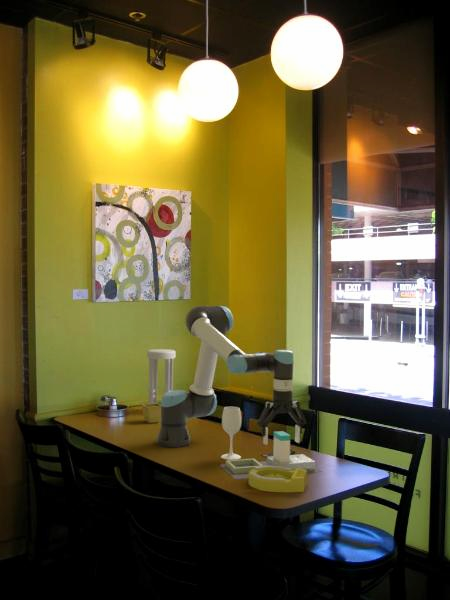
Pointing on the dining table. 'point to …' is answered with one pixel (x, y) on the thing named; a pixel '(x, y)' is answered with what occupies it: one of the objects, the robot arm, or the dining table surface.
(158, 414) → the flower pot
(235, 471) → the grey square tray
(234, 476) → the mat
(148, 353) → the stool
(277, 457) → the cream green box
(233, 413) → the wineglass
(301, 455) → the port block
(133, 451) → the dining table surface
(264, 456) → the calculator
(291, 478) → the ashtray
